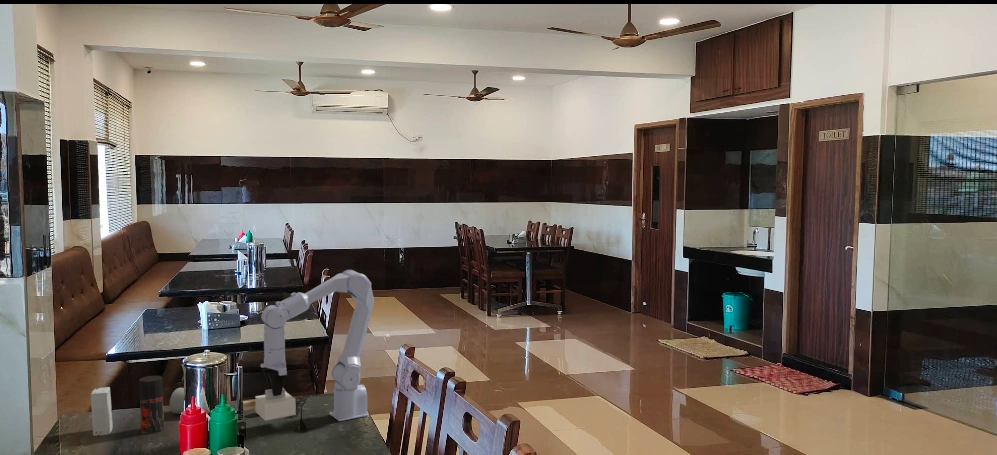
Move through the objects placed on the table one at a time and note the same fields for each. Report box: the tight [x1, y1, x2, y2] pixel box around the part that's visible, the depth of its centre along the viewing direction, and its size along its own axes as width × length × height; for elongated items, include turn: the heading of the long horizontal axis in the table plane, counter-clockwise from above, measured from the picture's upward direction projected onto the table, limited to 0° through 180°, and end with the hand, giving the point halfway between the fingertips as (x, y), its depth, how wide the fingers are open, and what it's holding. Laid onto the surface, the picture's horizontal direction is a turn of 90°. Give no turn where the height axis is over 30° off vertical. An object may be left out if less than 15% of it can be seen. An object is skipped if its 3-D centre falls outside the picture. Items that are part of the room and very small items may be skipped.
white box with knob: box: [254, 387, 297, 422], centre depth 213 cm, size 9×9×7 cm
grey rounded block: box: [168, 387, 185, 415], centre depth 226 cm, size 11×8×8 cm
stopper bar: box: [242, 398, 256, 412], centre depth 231 cm, size 12×2×2 cm, turn 124°
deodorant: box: [138, 375, 165, 435], centre depth 211 cm, size 6×6×15 cm
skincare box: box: [90, 386, 114, 437], centre depth 209 cm, size 6×4×12 cm
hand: (275, 393), depth 213 cm, fingers closed on white box with knob, 2 cm apart
